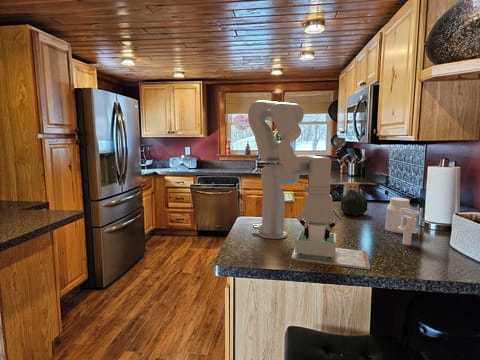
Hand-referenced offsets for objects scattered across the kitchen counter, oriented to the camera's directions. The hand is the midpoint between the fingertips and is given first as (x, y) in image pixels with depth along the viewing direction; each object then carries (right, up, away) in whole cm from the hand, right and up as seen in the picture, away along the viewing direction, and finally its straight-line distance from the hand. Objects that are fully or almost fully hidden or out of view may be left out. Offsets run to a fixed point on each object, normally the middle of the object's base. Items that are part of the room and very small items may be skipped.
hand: (316, 238), depth 115 cm
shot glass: (0, -1, 0) cm, 1 cm away
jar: (+48, -3, +36) cm, 60 cm away
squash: (+37, +1, +66) cm, 76 cm away
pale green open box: (0, -5, +1) cm, 5 cm away
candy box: (+44, +4, +90) cm, 100 cm away
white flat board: (+5, -6, -1) cm, 8 cm away
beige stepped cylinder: (+41, -5, +15) cm, 44 cm away
